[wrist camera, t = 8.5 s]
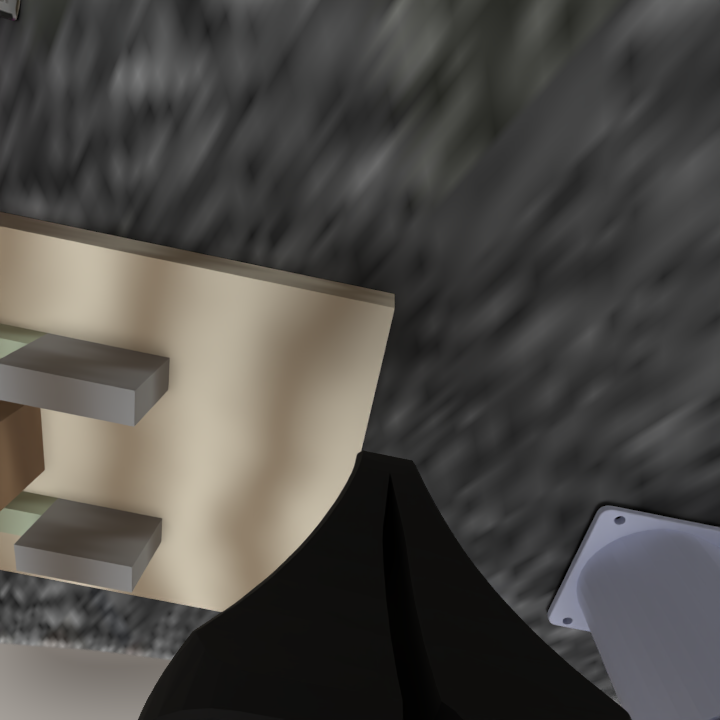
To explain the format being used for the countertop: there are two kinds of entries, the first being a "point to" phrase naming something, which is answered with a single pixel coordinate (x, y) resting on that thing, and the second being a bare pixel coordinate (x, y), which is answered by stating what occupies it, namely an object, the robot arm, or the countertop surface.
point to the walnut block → (19, 449)
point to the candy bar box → (9, 9)
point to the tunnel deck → (177, 410)
